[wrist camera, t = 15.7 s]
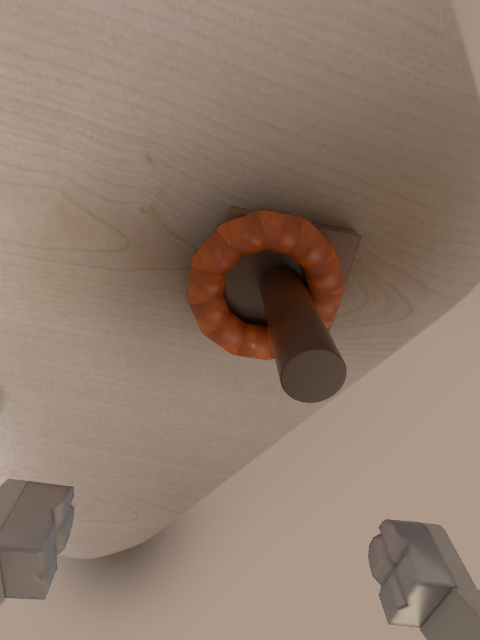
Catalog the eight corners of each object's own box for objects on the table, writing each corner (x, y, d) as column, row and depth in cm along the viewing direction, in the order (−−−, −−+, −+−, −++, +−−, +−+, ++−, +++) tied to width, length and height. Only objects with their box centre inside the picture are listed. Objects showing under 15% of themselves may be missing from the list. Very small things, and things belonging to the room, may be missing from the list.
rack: (355, 230, 27) (448, 303, 16) (318, 339, 31) (372, 459, 20) (229, 205, 26) (234, 264, 14) (208, 322, 30) (199, 439, 18)
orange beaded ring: (357, 225, 25) (370, 234, 23) (313, 356, 30) (320, 374, 27) (202, 194, 24) (199, 200, 22) (180, 336, 28) (177, 353, 26)
